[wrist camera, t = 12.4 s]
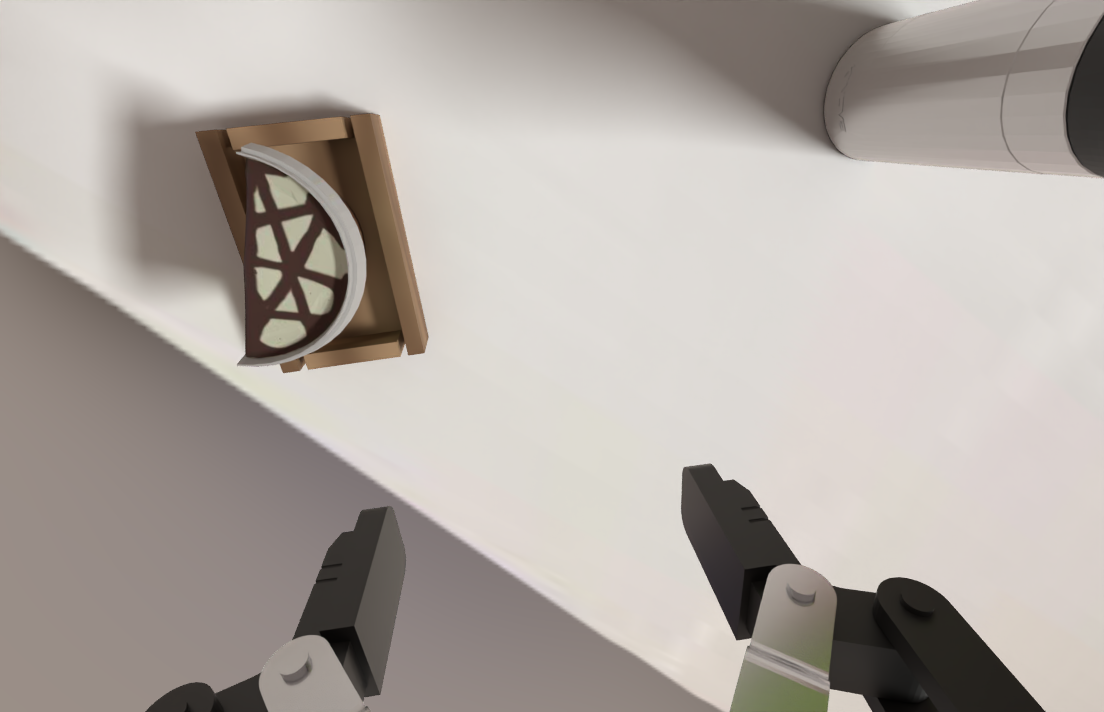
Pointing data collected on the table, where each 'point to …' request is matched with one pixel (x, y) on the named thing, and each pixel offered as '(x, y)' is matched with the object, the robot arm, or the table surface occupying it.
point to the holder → (368, 188)
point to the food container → (296, 259)
